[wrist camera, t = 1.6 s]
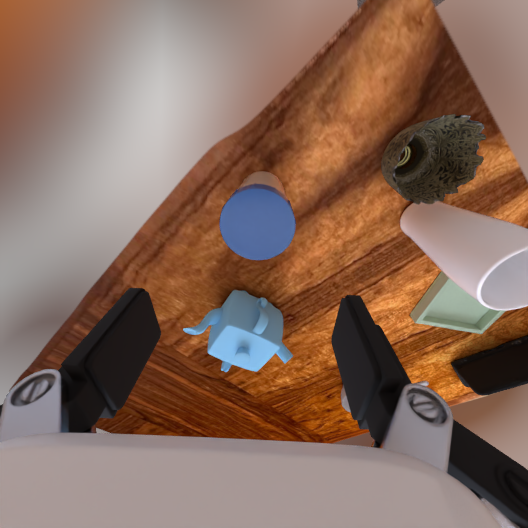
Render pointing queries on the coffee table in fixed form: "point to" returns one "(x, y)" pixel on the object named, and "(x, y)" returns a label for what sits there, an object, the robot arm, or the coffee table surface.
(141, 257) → the coffee table surface
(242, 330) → the teapot
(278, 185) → the jar
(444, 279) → the tray
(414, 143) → the grey rounded piece
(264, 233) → the lid
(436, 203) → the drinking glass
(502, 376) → the game console
